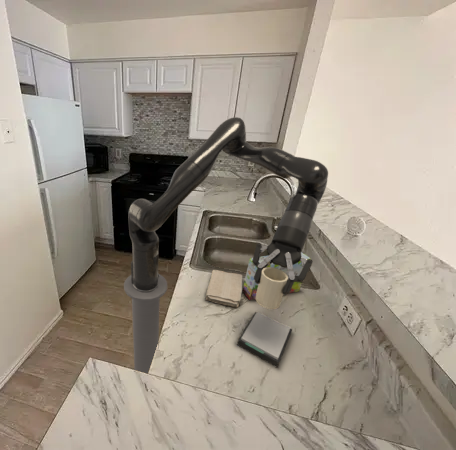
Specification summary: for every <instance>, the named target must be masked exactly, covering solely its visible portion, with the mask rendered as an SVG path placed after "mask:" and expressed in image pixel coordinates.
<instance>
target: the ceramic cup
mask: <svg viewBox="0 0 456 450" xmlns="http://www.w3.org/2000/svg"><path fill="white" fill-rule="evenodd" d="M287 280H288V275H287V274H286V273H285V272H284V271H282V270H281V269H278V268H274V267H266V268H263V270H262V272H261V276H260V280H259V284H258V289H257V293H256V299H255V302H256V303H257V304H258V305H259V306H260V307H262V308H264V309H267V310H277V309H279V308H280V307H281V303H282V301H283V297H284V294H283V290H284V287H285V285H286V282H287Z"/></svg>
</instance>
